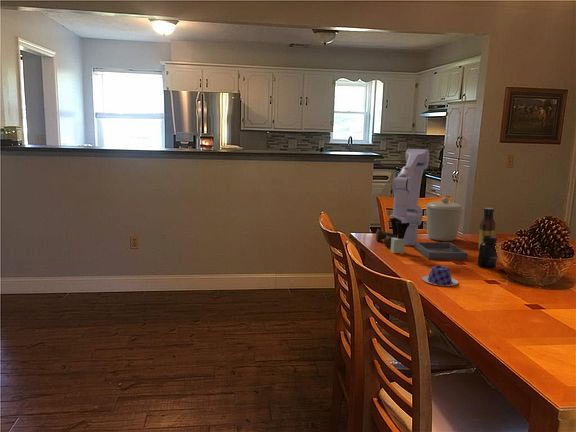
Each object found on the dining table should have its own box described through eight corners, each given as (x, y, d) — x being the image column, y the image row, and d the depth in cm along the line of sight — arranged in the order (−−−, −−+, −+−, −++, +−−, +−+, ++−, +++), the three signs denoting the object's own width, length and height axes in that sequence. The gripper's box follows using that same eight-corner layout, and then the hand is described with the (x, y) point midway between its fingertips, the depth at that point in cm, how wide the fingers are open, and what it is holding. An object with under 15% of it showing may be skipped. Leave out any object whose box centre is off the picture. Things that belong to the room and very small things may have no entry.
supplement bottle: (493, 270, 173) (497, 239, 171) (475, 266, 177) (478, 236, 175) (498, 266, 179) (501, 236, 176) (480, 263, 183) (483, 234, 180)
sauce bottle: (490, 251, 203) (495, 207, 199) (495, 254, 197) (500, 209, 193) (475, 250, 203) (480, 206, 200) (479, 254, 197) (484, 208, 194)
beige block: (390, 250, 198) (391, 237, 197) (400, 251, 198) (401, 237, 197) (393, 253, 194) (394, 239, 193) (403, 253, 194) (404, 240, 193)
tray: (414, 248, 203) (415, 242, 203) (449, 249, 204) (450, 242, 204) (428, 259, 186) (429, 252, 185) (466, 260, 187) (467, 253, 186)
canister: (416, 239, 222) (420, 196, 219) (430, 233, 237) (433, 193, 233) (454, 245, 212) (458, 200, 208) (465, 239, 226) (470, 197, 222)
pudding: (425, 274, 166) (426, 261, 165) (460, 280, 160) (461, 266, 160) (418, 283, 155) (419, 269, 155) (455, 290, 150) (456, 275, 149)
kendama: (379, 249, 203) (374, 237, 223) (400, 250, 203) (394, 239, 222) (380, 236, 202) (375, 225, 222) (402, 237, 201) (395, 227, 221)
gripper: (386, 202, 199) (384, 232, 202) (395, 207, 185) (393, 240, 187) (402, 202, 200) (400, 233, 202) (412, 208, 185) (410, 240, 188)
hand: (398, 236), depth 195 cm, fingers open, 7 cm apart
